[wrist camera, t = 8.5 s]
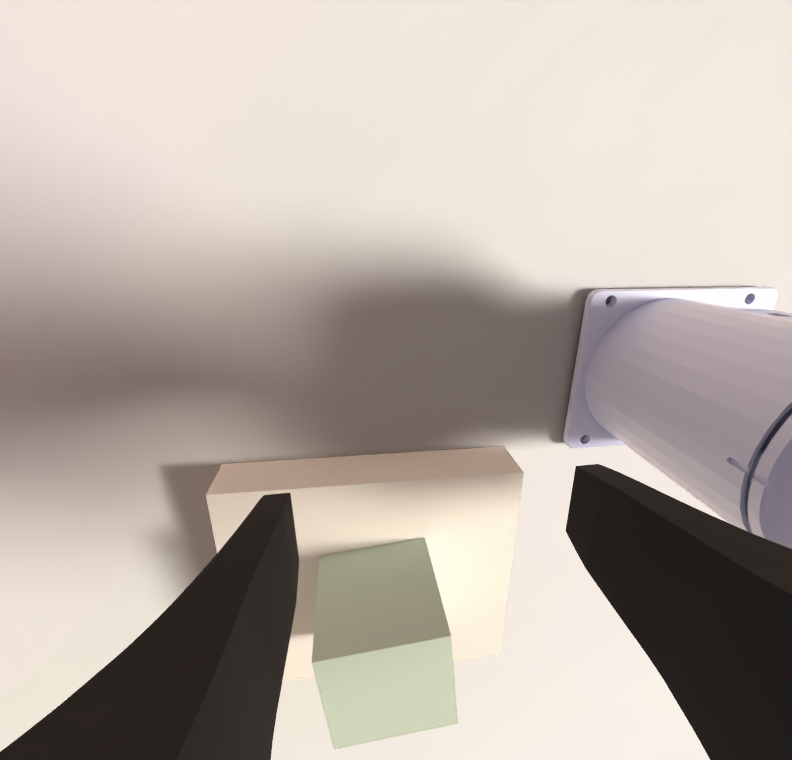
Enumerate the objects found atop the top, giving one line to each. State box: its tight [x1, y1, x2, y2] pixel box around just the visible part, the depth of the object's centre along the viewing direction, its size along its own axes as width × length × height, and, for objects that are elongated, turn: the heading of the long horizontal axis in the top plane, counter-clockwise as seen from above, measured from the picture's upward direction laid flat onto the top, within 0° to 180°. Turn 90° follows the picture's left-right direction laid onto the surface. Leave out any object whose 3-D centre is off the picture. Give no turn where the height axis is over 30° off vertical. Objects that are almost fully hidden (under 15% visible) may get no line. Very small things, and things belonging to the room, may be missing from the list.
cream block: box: [206, 446, 524, 682], centre depth 21 cm, size 14×12×3 cm
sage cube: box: [312, 538, 458, 749], centre depth 17 cm, size 5×5×5 cm
